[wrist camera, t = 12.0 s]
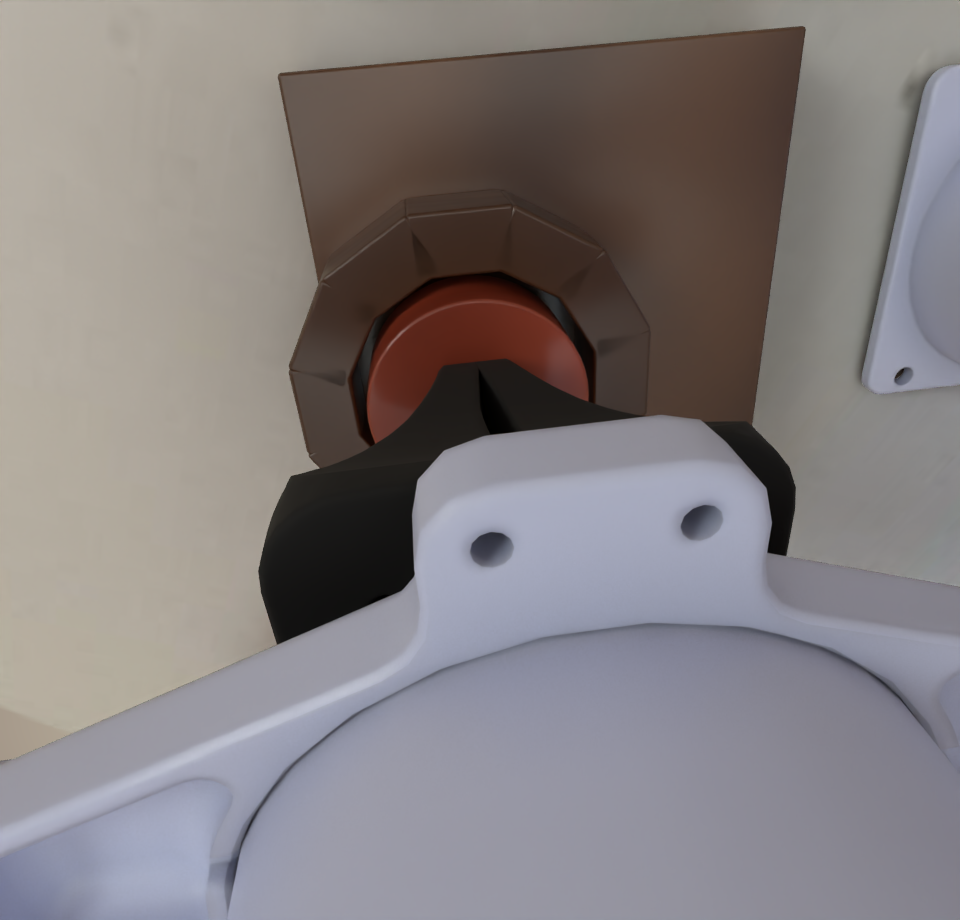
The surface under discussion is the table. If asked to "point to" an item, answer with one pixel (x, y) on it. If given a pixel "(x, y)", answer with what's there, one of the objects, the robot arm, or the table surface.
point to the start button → (464, 343)
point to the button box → (551, 210)
